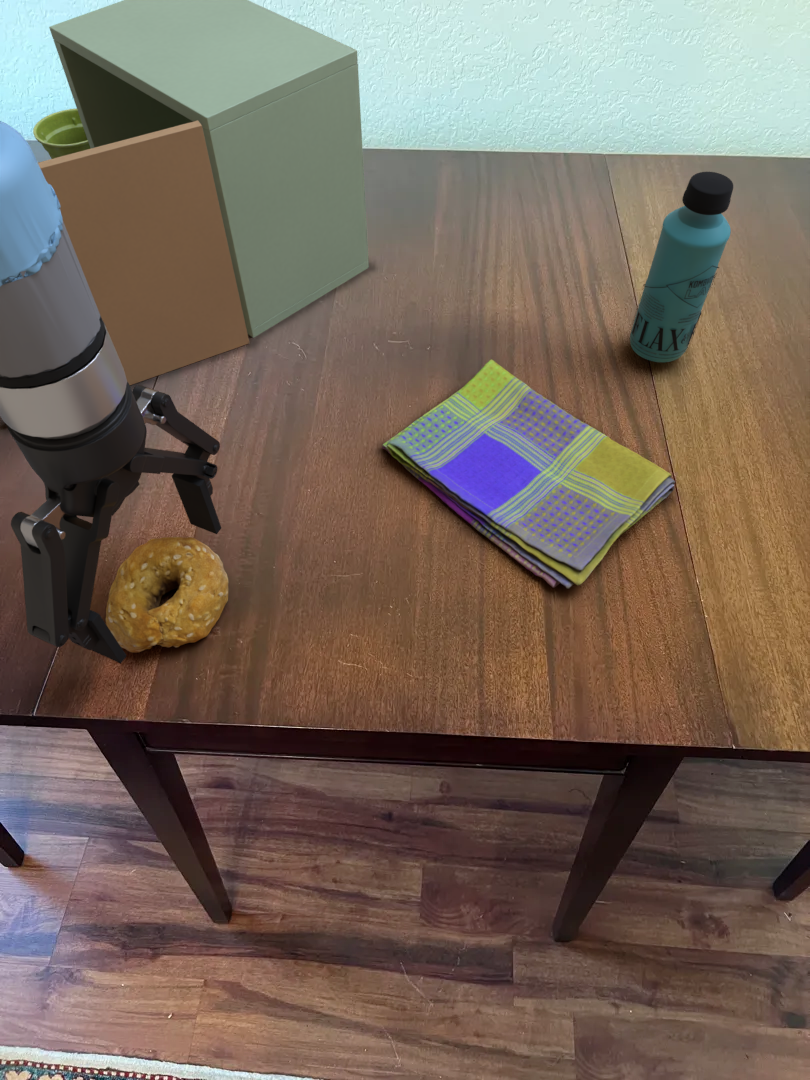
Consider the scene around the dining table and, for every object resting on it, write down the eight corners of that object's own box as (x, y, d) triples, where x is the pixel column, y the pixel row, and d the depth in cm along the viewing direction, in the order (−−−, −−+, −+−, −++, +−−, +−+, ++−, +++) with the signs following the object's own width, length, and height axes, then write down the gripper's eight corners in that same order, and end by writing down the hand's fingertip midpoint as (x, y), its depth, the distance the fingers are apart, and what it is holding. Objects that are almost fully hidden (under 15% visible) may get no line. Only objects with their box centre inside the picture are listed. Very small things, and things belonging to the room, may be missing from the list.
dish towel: (494, 368, 85) (496, 348, 82) (684, 494, 74) (692, 475, 72) (376, 454, 78) (375, 434, 75) (567, 605, 67) (572, 588, 65)
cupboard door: (274, 381, 84) (231, 162, 64) (25, 472, 76) (-110, 258, 57) (246, 338, 88) (197, 120, 68) (7, 421, 80) (-124, 204, 61)
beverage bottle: (612, 354, 86) (659, 181, 69) (647, 326, 88) (700, 152, 72) (662, 383, 83) (723, 210, 67) (697, 353, 86) (764, 179, 69)
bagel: (85, 607, 68) (65, 578, 64) (192, 537, 72) (179, 506, 68) (146, 685, 63) (128, 659, 59) (256, 606, 68) (246, 577, 64)
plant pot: (69, 171, 108) (46, 106, 101) (137, 172, 108) (117, 107, 101) (49, 209, 103) (22, 144, 96) (120, 211, 103) (98, 145, 95)
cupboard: (253, 338, 88) (206, 117, 68) (122, 241, 99) (48, 26, 79) (369, 268, 95) (357, 49, 75) (235, 184, 106) (193, -26, 86)
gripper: (138, 268, 55) (205, 467, 72) (-141, 529, 42) (22, 696, 59) (229, 295, 53) (276, 493, 70) (-34, 577, 40) (103, 735, 57)
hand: (160, 586), depth 65 cm, fingers open, 13 cm apart
